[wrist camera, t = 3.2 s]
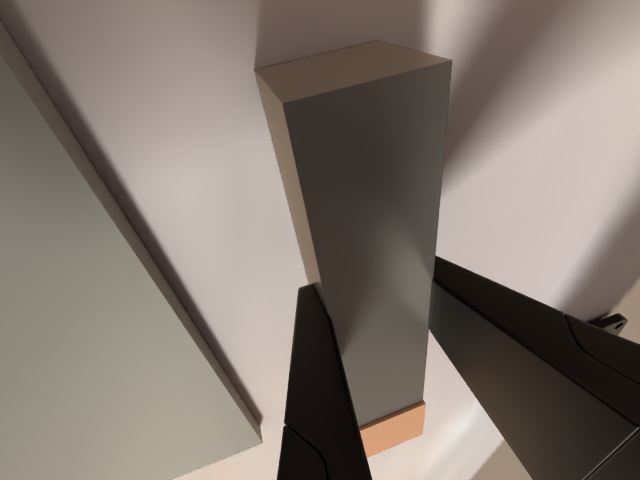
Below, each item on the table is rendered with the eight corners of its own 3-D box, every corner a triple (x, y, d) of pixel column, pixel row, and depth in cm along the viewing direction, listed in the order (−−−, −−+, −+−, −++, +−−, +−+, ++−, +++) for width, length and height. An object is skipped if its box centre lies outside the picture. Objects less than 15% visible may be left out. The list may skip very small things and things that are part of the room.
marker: (378, 39, 6) (460, 60, 4) (391, 373, 14) (422, 434, 12) (251, 70, 6) (280, 106, 4) (335, 395, 14) (359, 461, 12)
